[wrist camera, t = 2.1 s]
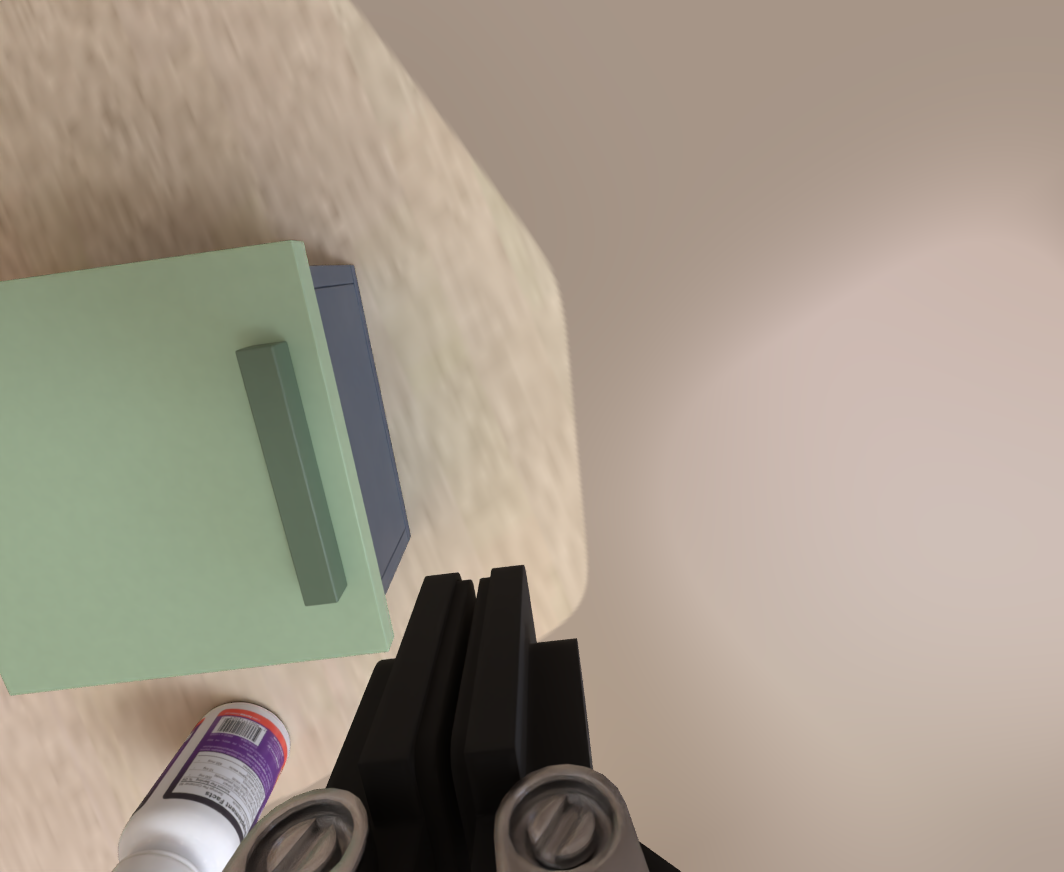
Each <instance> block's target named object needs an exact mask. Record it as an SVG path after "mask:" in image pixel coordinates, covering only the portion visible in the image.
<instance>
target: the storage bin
mask: <svg viewBox="0 0 1064 872" xmlns="http://www.w3.org/2000/svg"><path fill="white" fill-rule="evenodd" d="M309 268H310V272H311V277H312V281H313V285H314V290H315V294H316V299H317V303H318V307H319V312H320V316H321V320H322V325H323V329H324V333H325V338H326V342H327V346H328V351H329V355H330V359H331V364H332V368H333V372H334V377H335V381H336V385H337V390H338V394H339V398H340V403H341V407H342V411H343V416H344V420H345V424H346V429H347V433H348V437H349V442H350V446H351V450H352V455H353V459H354V463H355V468H356V472H357V476H358V481H359V485H360V489H361V494H362V498H363V502H364V507H365V511H366V515H367V520H368V524H369V529H370V533H371V537H372V542H373V546H374V550H375V555H376V559H377V563H378V568H379V572H380V576H381V581H382V585H383V589H384V594H385V595H386V592H387V590H388V588H389V586H390V583H391V581H392V579H393V576H394V574H395V572H396V570H397V567H398V565H399V563H400V560H401V558H402V556H403V553H404V551H405V549H406V547H407V544H408V541H409V540H410V537H411V535H410V530H409V526H408V521H407V516H406V511H405V506H404V502H403V497H402V492H401V487H400V483H399V478H398V473H397V468H396V464H395V459H394V454H393V449H392V444H391V440H390V435H389V430H388V425H387V421H386V416H385V411H384V406H383V402H382V397H381V392H380V387H379V383H378V378H377V373H376V368H375V363H374V359H373V354H372V349H371V344H370V340H369V335H368V330H367V325H366V321H365V316H364V311H363V306H362V302H361V297H360V292H359V287H358V282H357V278H356V273H355V268H354V265H315V266H309Z"/></svg>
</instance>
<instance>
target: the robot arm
mask: <svg viewBox="0 0 1064 872" xmlns="http://www.w3.org/2000/svg"><path fill="white" fill-rule="evenodd" d="M222 872H681V871H680V870H678V869H677V868H675V867H674V866H673V865H671V864H670V863H668V862H667V861H666V860H664V859H663V858H661V857H660V856H659V855H657V854H656V853H654V852H653V851H652V850H650V849H649V848H647V847H646V846H645V845H643V844H642V843H641V842H639V841H638V837H637V834H636V831H635V829H634V826H633V823H632V820H631V817H630V814H629V811H628V808H627V805H626V803H625V801H624V799H623V797H622V795H621V794H620V792H619V790H618V788H617V787H616V786H615V785H614V784H613V783H612V782H610V780H608V779H607V778H606V777H605V776H604V775H603V774H600V773H598V772H596V771H594V770H593V766H592V756H591V747H590V738H589V729H588V721H587V712H586V704H585V696H584V688H583V680H582V672H581V665H580V657H579V649H578V642H577V638H576V639H567V640H558V641H549V642H540V643H537V641H536V635H535V628H534V622H533V615H532V609H531V602H530V595H529V589H528V582H527V576H526V570H525V566H524V565H518V566H509V567H501V568H493V569H492V570H491V576H490V577H489V578H481V579H480V582H479V587H478V592H477V598H476V596H475V590H474V585H473V582H472V580H463V581H462V579H461V576H460V574H459V573H449V574H441V575H432V576H426V577H425V579H424V581H423V584H422V587H421V589H420V592H419V595H418V598H417V600H416V603H415V606H414V609H413V612H412V614H411V617H410V620H409V623H408V625H407V628H406V631H405V634H404V636H403V639H402V642H401V645H400V648H399V650H398V653H397V656H396V658H395V659H386V660H381V661H379V662H378V663H377V664H376V666H375V668H374V670H373V673H372V675H371V678H370V680H369V683H368V685H367V687H366V690H365V692H364V695H363V697H362V700H361V702H360V705H359V707H358V710H357V712H356V715H355V717H354V720H353V722H352V724H351V727H350V729H349V732H348V734H347V737H346V739H345V742H344V744H343V747H342V749H341V752H340V754H339V757H338V759H337V762H336V764H335V766H334V769H333V771H332V774H331V776H330V779H329V781H328V784H327V786H326V788H325V789H316V790H312V791H309V792H306V793H303V794H300V795H297V796H294V797H293V798H291V799H289V800H287V801H286V802H284V803H282V804H280V805H279V806H277V807H275V808H274V809H273V810H271V811H270V812H269V813H268V814H267V815H266V816H264V818H262V819H261V820H260V821H259V822H257V823H256V824H255V826H254V827H253V828H252V829H251V831H250V832H249V833H248V834H247V835H246V837H245V838H244V839H243V840H242V842H241V843H240V845H239V846H238V848H237V849H236V851H235V852H234V854H233V855H232V857H231V858H230V860H229V861H228V863H227V864H226V866H225V867H224V869H223V870H222Z"/></svg>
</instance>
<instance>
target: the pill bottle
mask: <svg viewBox="0 0 1064 872" xmlns="http://www.w3.org/2000/svg"><path fill="white" fill-rule="evenodd" d="M289 751H290V738H289V734H288V732H287V730H286V728H285V726H284V725H283V723H282V722H281V721H280V720H279V719H278V718H277V717H276V716H275V715H274V714H273V713H271V712H270V711H268V710H266V709H265V708H263V707H260V706H258V705H255V704H251V703H244V702H235V703H228V704H224V705H221V706H218V707H216V708H214V709H212V710H211V711H210V712H208V713H207V714H206V715H205V716H204V717H203V718H202V719H201V720H200V721H199V723H198V724H197V725H196V726H195V728H194V729H193V730H192V732H191V733H190V735H189V736H188V738H187V739H186V741H185V742H184V743H183V745H182V746H181V748H180V749H179V751H178V752H177V753H176V755H175V756H174V758H173V759H172V760H171V762H170V763H169V765H168V766H167V767H166V769H165V770H164V772H163V773H162V774H161V776H160V777H159V779H158V780H157V781H156V783H155V784H154V786H153V787H152V788H151V790H150V791H149V793H148V794H147V795H146V797H145V798H144V800H143V801H142V802H141V804H140V805H139V807H138V808H137V809H136V811H135V812H134V813H133V815H132V816H131V818H130V819H129V821H128V823H127V824H126V826H125V828H124V829H123V831H122V833H121V836H120V839H119V843H118V859H119V863H118V864H117V866H116V867H115V868H114V869H113V870H112V872H222V870H223V869H224V867H225V866H226V864H227V863H228V861H229V860H230V858H231V857H232V855H233V854H234V852H235V851H236V849H237V848H238V846H239V845H240V843H241V842H242V840H243V839H244V838H245V837H246V835H247V834H248V833H249V832H250V831H251V829H252V828H253V827H254V826H255V824H256V823H257V821H258V819H259V817H260V815H261V812H262V810H263V809H264V807H265V804H266V802H267V800H268V798H269V796H270V794H271V792H272V790H273V788H274V786H275V784H276V782H277V780H278V778H279V776H280V774H281V772H282V770H283V767H284V765H285V763H286V761H287V758H288V755H289Z"/></svg>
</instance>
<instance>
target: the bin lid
mask: <svg viewBox="0 0 1064 872" xmlns="http://www.w3.org/2000/svg"><path fill="white" fill-rule="evenodd" d="M393 638H394V633H393V628H392V624H391V620H390V615H389V611H388V607H387V602H386V598H385V594H384V589H383V585H382V581H381V576H380V572H379V568H378V563H377V559H376V555H375V550H374V546H373V542H372V537H371V533H370V529H369V524H368V520H367V515H366V511H365V507H364V502H363V498H362V494H361V489H360V485H359V481H358V476H357V472H356V468H355V463H354V459H353V455H352V450H351V446H350V442H349V437H348V433H347V429H346V424H345V420H344V416H343V411H342V407H341V403H340V398H339V394H338V390H337V385H336V381H335V377H334V372H333V368H332V364H331V359H330V355H329V351H328V346H327V342H326V338H325V333H324V329H323V325H322V320H321V316H320V312H319V307H318V303H317V299H316V294H315V290H314V285H313V281H312V277H311V272H310V268H309V264H308V259H307V255H306V251H305V246H304V242H303V241H297V240H287V241H280V242H273V243H266V244H259V245H252V246H245V247H238V248H231V249H224V250H217V251H210V252H203V253H196V254H189V255H182V256H175V257H168V258H161V259H154V260H147V261H140V262H133V263H126V264H119V265H112V266H105V267H98V268H91V269H84V270H77V271H70V272H63V273H56V274H49V275H42V276H35V277H28V278H21V279H14V280H7V281H0V674H1V677H2V679H3V681H4V683H5V685H6V688H7V690H8V692H9V694H10V695H11V696H12V695H20V694H29V693H37V692H46V691H55V690H63V689H72V688H80V687H89V686H98V685H106V684H115V683H123V682H132V681H141V680H149V679H158V678H166V677H175V676H184V675H192V674H201V673H209V672H218V671H226V670H235V669H244V668H252V667H261V666H269V665H278V664H287V663H295V662H304V661H312V660H321V659H330V658H338V657H347V656H355V655H364V654H373V653H381V652H388V651H389V649H390V647H391V644H392V641H393Z"/></svg>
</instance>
